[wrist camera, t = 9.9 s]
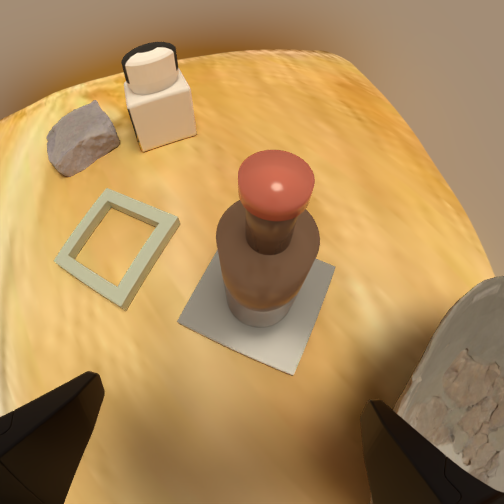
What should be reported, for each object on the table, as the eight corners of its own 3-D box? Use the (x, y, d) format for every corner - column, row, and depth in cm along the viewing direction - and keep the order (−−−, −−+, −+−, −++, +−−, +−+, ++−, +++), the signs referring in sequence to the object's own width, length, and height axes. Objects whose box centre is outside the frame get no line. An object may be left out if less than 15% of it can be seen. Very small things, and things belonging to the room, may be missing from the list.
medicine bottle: (135, 123, 35) (114, 49, 24) (184, 108, 36) (173, 32, 26) (142, 153, 32) (115, 69, 21) (197, 135, 33) (186, 49, 23)
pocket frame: (126, 310, 23) (120, 306, 22) (59, 266, 25) (53, 260, 24) (180, 224, 27) (177, 216, 26) (110, 194, 29) (106, 187, 28)
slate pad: (292, 375, 21) (293, 375, 21) (178, 323, 23) (177, 321, 22) (334, 269, 25) (335, 266, 25) (232, 227, 27) (232, 224, 27)
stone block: (71, 193, 32) (128, 142, 33) (49, 173, 27) (111, 117, 28) (56, 153, 36) (103, 112, 37) (39, 135, 32) (89, 91, 33)
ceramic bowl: (280, 396, 20) (305, 400, 11) (467, 279, 25) (527, 232, 16) (372, 568, 11) (417, 613, 2) (526, 431, 16) (586, 423, 7)
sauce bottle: (256, 341, 22) (274, 264, 9) (212, 291, 24) (180, 170, 11) (306, 298, 23) (368, 185, 11) (262, 253, 25) (277, 118, 13)
